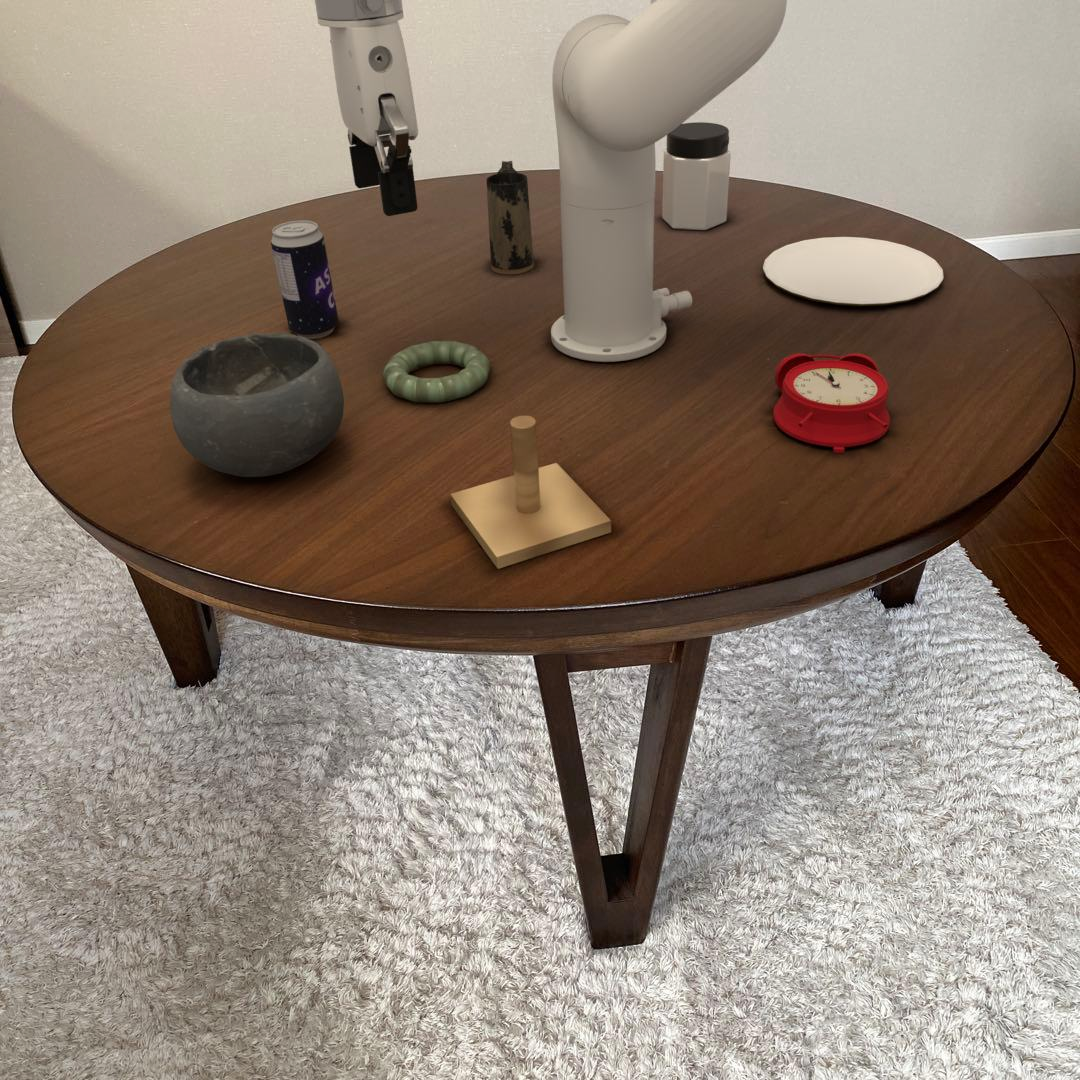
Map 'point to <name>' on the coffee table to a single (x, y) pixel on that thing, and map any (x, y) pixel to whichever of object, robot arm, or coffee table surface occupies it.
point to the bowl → (257, 403)
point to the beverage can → (304, 278)
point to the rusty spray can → (509, 221)
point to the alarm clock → (831, 400)
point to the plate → (853, 271)
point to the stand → (528, 506)
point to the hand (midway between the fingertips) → (385, 198)
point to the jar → (696, 176)
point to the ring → (436, 387)
